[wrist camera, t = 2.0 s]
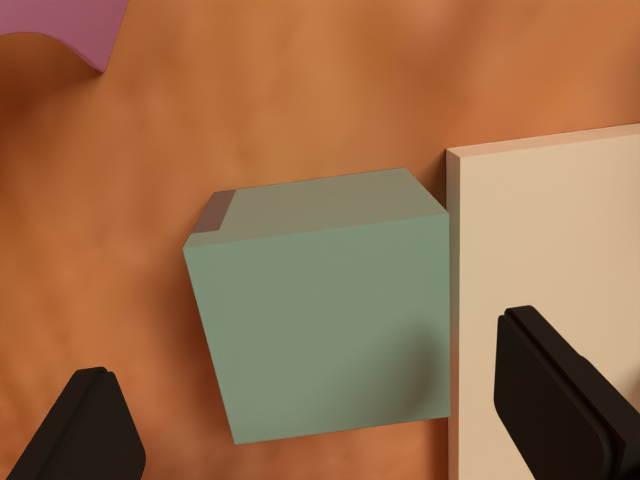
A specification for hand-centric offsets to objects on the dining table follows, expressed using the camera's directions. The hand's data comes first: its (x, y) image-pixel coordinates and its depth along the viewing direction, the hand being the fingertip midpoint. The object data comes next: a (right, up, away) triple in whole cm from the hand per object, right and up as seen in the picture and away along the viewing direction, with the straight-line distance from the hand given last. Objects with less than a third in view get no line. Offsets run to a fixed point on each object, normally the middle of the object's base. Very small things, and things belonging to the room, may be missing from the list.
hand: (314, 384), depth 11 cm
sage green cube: (0, +3, +7) cm, 7 cm away
